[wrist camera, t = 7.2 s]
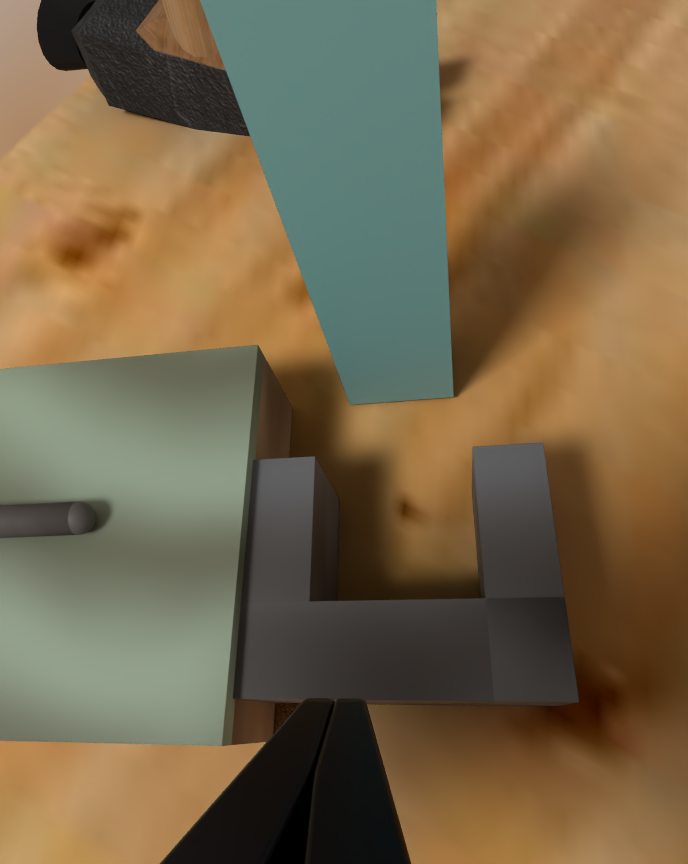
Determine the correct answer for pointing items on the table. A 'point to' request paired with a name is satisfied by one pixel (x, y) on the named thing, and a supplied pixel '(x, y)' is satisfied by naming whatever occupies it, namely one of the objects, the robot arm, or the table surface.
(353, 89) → the teal rectangular block
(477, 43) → the table surface
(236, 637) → the toolbox
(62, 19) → the hammer
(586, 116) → the table surface
